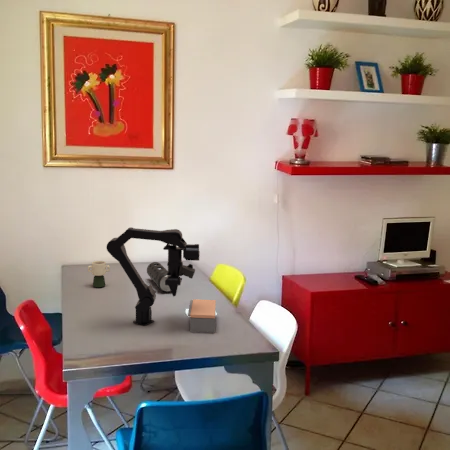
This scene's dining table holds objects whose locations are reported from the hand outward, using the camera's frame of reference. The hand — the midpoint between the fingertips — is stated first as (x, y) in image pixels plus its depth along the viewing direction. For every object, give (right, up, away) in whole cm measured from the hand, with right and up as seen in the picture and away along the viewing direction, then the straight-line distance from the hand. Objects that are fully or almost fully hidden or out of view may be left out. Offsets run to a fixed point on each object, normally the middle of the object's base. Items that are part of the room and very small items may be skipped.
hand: (174, 296), depth 222 cm
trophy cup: (-44, -2, +52) cm, 68 cm away
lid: (+12, -6, +1) cm, 13 cm away
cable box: (+12, -11, +7) cm, 18 cm away
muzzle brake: (-12, -3, +55) cm, 57 cm away
